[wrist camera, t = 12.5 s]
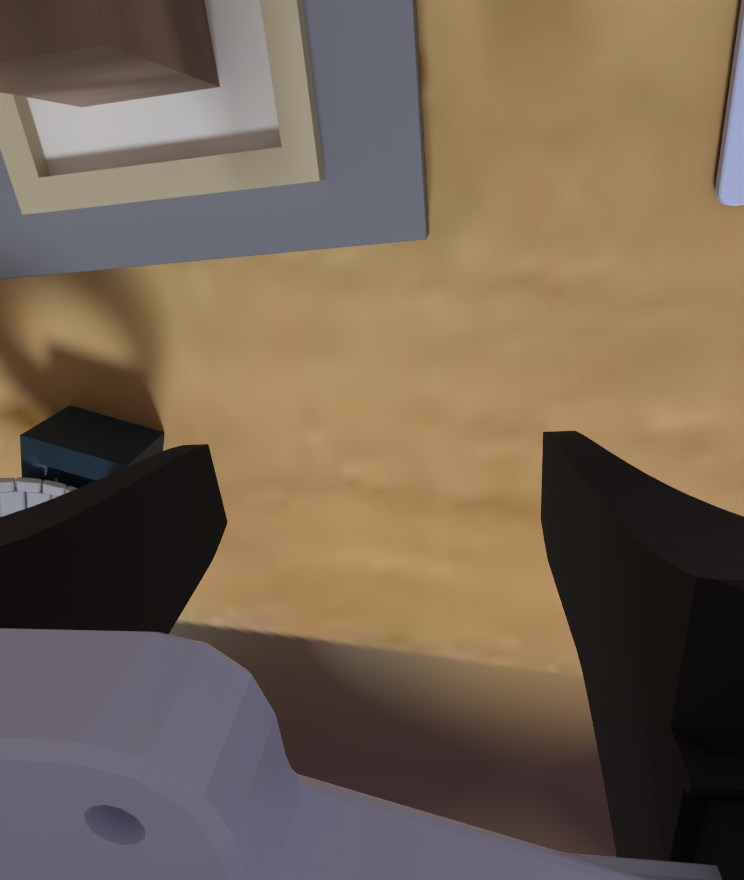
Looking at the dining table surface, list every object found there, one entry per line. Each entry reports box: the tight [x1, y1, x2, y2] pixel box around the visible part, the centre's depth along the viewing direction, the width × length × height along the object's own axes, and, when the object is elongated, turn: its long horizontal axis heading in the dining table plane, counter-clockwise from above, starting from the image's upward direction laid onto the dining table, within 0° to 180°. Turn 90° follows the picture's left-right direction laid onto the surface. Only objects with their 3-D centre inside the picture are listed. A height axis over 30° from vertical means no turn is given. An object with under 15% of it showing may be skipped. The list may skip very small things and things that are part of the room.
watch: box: [0, 406, 164, 517], centre depth 21 cm, size 6×8×11 cm
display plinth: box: [0, 0, 429, 279], centre depth 17 cm, size 16×14×3 cm
